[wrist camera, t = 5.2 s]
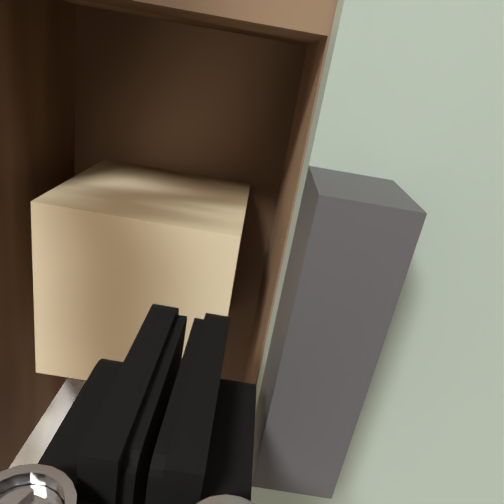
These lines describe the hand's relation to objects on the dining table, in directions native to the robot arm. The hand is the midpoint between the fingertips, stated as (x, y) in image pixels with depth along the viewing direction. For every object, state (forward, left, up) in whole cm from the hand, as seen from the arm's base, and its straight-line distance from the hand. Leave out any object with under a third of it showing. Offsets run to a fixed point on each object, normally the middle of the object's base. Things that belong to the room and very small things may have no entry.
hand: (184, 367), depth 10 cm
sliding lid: (-6, -2, -1) cm, 6 cm away
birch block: (+2, 0, -7) cm, 7 cm away
